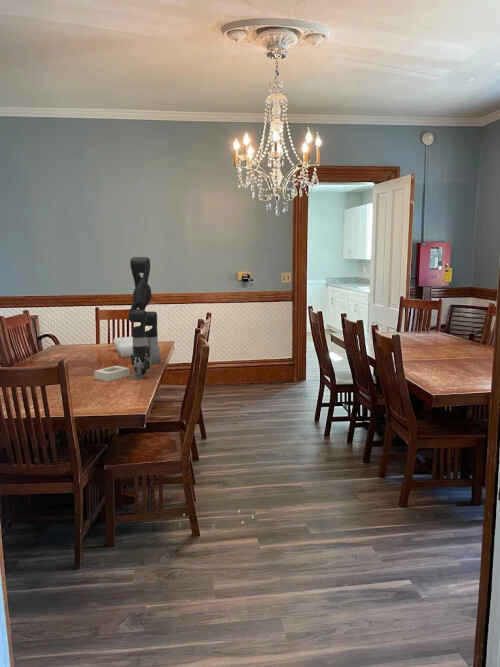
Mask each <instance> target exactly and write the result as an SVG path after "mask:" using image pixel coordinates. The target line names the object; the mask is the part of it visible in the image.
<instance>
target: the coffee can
mask: <svg viewBox="0 0 500 667" xmlns="http://www.w3.org/2000/svg"><path fill="white" fill-rule="evenodd" d="M133 355H134V353H133ZM145 355H146V357H149V358H150V347H149V346H146V353H145ZM146 365H147V364H146ZM151 370H152V369H151V364H150V359H149V367H147V368H146V372H149V371H151ZM133 372H135V367H134V366H133Z"/></svg>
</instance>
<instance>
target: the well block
mask: <svg viewBox="0 0 500 667" xmlns="http://www.w3.org/2000/svg"><path fill="white" fill-rule="evenodd" d="M93 376H94V379H95V380H99V381H102V380H103V382H107V381H108V382H111V380H112V381H115V379H116V380H120V379H124V378H127V376H128V377H131V367H130V368H129V367H125V366H120V365H115V366H109V367H105V368H100V369H97V370H93ZM123 377H124V378H123ZM119 378H120V379H119Z"/></svg>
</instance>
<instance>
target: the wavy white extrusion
mask: <svg viewBox="0 0 500 667" xmlns="http://www.w3.org/2000/svg"><path fill="white" fill-rule="evenodd" d="M112 341H113V345H114V346H115V350H116V352H117V353H118V354H119V355H120V357H122V358H131V355H133V342H132V341H133V336H123V337H114V338H113V340H112ZM122 358H121V359H122Z"/></svg>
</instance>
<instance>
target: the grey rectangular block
mask: <svg viewBox="0 0 500 667" xmlns="http://www.w3.org/2000/svg"><path fill="white" fill-rule="evenodd" d="M142 363H144V362H142ZM143 365H144V364H143ZM136 368H137V373H136V374H133V375H130V377H131V379H132V378H134V380H138V379H139V380H140V379H143V378H146V374H145V375H143V374H142V366H141V365H140V362H136Z"/></svg>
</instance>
